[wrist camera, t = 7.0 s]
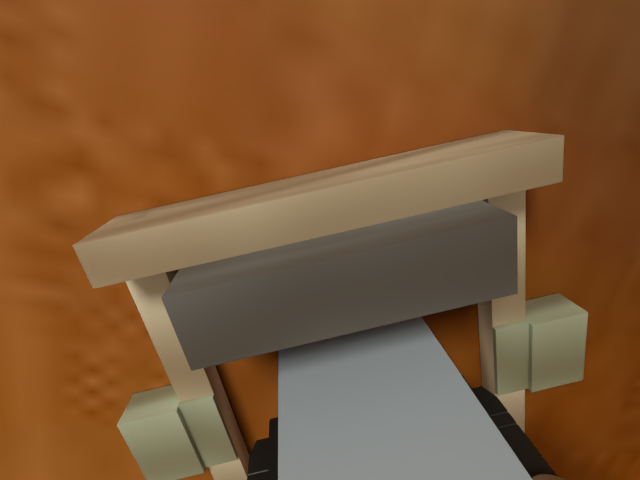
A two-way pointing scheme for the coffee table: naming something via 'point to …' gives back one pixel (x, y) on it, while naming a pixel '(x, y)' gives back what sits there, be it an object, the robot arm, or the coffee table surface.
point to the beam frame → (333, 281)
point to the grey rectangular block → (384, 412)
